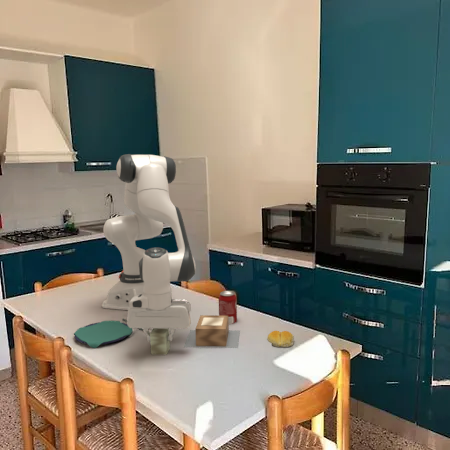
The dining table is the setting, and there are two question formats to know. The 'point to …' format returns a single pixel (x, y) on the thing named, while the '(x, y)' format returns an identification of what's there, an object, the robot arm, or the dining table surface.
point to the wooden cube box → (212, 330)
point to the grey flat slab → (231, 343)
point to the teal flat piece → (103, 333)
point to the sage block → (159, 341)
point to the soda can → (228, 306)
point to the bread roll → (281, 339)
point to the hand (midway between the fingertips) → (160, 340)
